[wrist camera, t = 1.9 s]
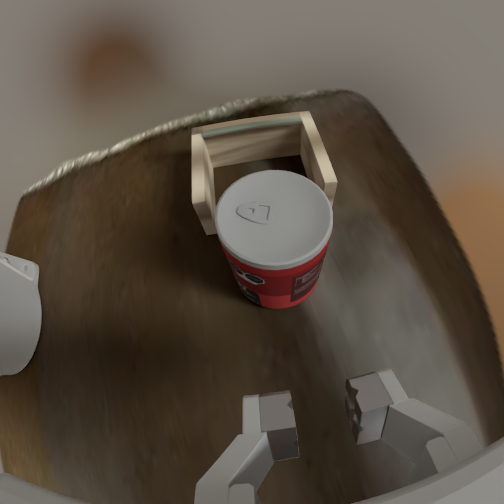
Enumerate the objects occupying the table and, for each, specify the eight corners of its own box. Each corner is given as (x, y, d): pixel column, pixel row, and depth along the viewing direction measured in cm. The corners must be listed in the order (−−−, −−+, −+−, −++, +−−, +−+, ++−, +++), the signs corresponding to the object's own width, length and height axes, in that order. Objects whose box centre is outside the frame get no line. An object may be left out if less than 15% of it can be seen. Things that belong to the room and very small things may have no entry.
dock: (329, 216, 32) (337, 179, 26) (206, 235, 32) (191, 201, 26) (307, 147, 36) (309, 109, 31) (203, 162, 37) (191, 126, 31)
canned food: (234, 243, 31) (212, 175, 21) (310, 234, 31) (320, 163, 21) (239, 315, 28) (214, 273, 18) (323, 305, 28) (345, 258, 18)
